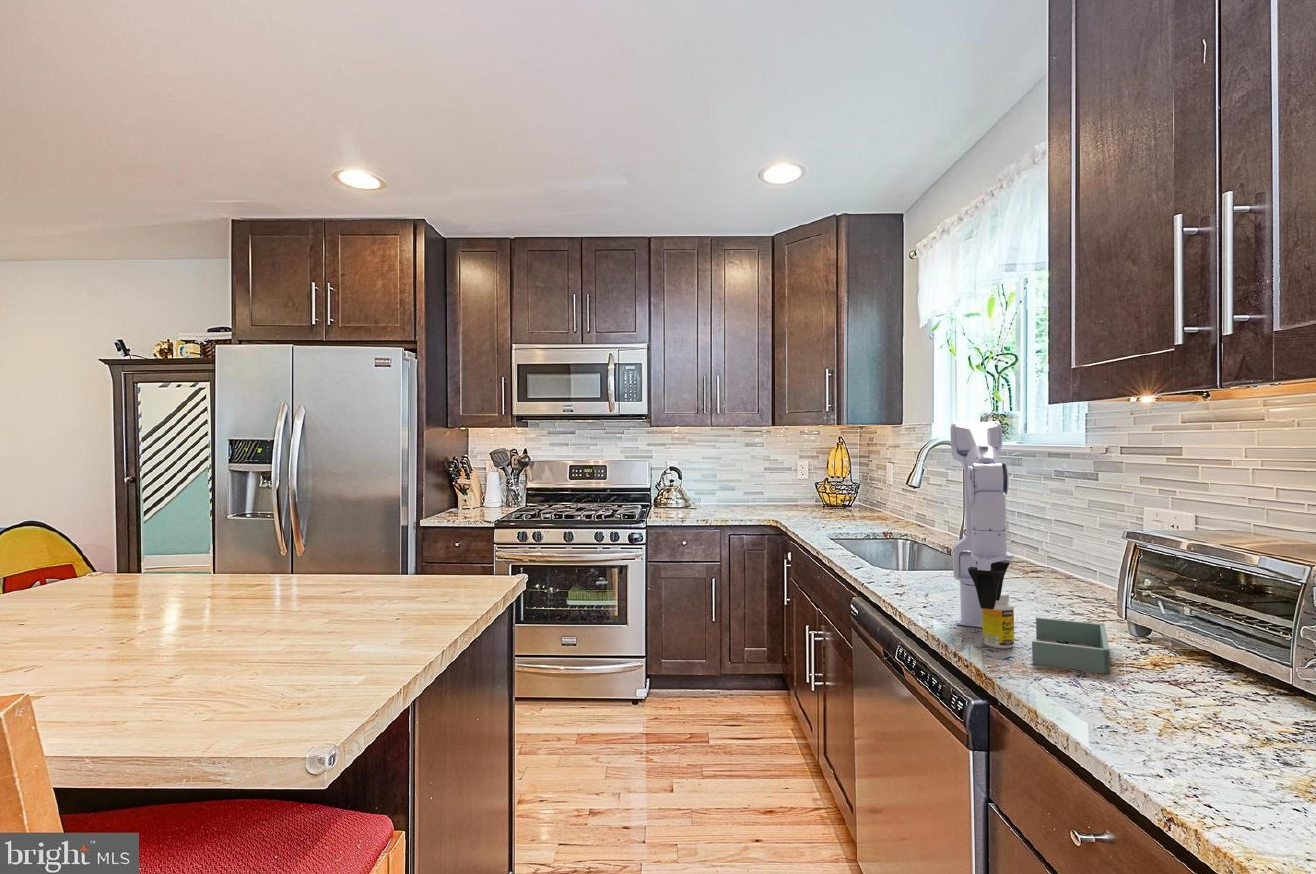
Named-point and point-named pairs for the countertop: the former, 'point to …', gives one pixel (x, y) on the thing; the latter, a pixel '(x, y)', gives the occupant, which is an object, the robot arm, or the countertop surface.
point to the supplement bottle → (999, 624)
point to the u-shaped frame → (1071, 654)
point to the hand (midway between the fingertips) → (990, 604)
